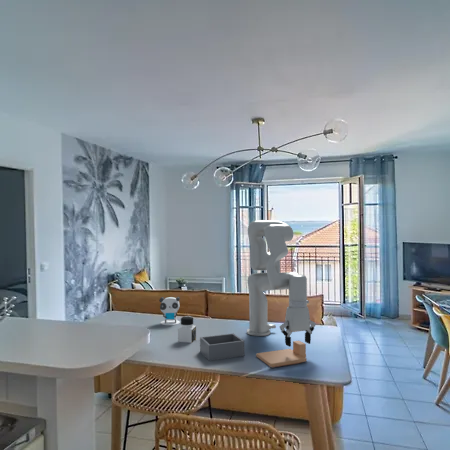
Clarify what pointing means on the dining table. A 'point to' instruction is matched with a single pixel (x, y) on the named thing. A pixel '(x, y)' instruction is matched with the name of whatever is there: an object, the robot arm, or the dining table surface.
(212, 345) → the grey tray
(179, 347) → the dining table surface
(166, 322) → the panda figurine
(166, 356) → the dining table surface
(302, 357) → the lid
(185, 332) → the medicine bottle
